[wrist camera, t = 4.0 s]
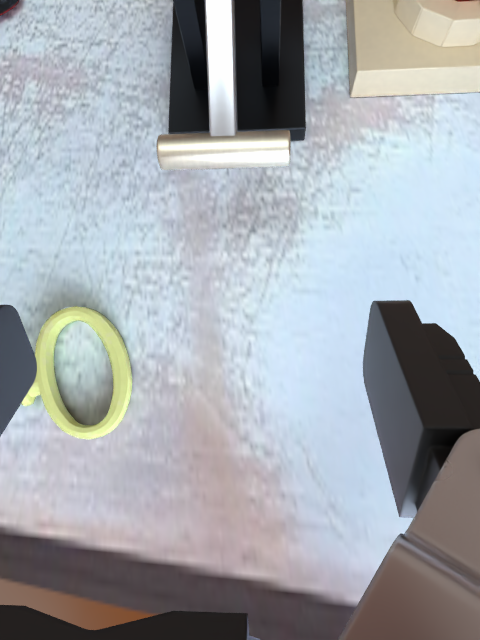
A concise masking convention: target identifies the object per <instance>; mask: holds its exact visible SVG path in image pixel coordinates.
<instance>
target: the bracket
mask: <svg viewBox="0 0 480 640" xmlns="http://www.w3.org/2000/svg"><path fill="white" fill-rule="evenodd" d="M234 1H235V42H236V84H237V126H238V132H245V131H273V130H289V131H290V141H291V140H304V137H305V129H306V122H305V81H304V41H303V0H234ZM190 133H210V128H209V102H208V76H207V50H206V24H205V0H173V25H172V52H171V79H170V106H169V134H190Z"/></svg>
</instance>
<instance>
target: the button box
mask: <svg viewBox="0 0 480 640" xmlns="http://www.w3.org/2000/svg"><path fill="white" fill-rule="evenodd" d="M346 16H347V38H348V60H349V82H350V97H372V96H397V95H421V94H446V93H470V92H480V0H473V1H455V0H346Z"/></svg>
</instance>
